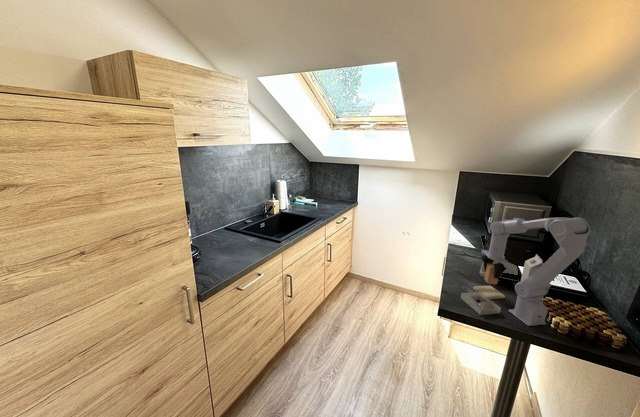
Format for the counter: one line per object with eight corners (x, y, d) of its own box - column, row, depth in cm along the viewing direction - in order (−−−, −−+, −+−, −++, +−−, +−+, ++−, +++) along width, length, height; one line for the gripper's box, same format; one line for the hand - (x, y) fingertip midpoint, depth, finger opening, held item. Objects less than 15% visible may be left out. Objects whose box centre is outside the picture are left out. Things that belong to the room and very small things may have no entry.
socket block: (499, 313, 108) (501, 307, 107) (480, 315, 107) (481, 309, 106) (478, 296, 120) (479, 291, 119) (460, 297, 118) (461, 293, 118)
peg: (497, 284, 119) (500, 268, 116) (487, 283, 119) (490, 267, 117) (493, 280, 122) (496, 264, 120) (484, 278, 123) (487, 263, 121)
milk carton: (536, 292, 123) (546, 255, 118) (542, 301, 117) (552, 262, 112) (518, 289, 126) (526, 252, 121) (523, 297, 119) (532, 259, 114)
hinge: (479, 276, 137) (482, 257, 138) (478, 275, 142) (480, 256, 142) (518, 284, 130) (521, 264, 131) (516, 282, 135) (518, 263, 135)
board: (504, 297, 119) (505, 295, 118) (486, 299, 117) (487, 297, 117) (489, 287, 127) (490, 285, 127) (472, 288, 126) (473, 286, 126)
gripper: (519, 253, 110) (513, 282, 114) (492, 240, 124) (487, 266, 127) (504, 254, 109) (498, 283, 113) (479, 241, 123) (474, 267, 126)
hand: (491, 274), depth 120 cm, fingers closed on peg, 5 cm apart
